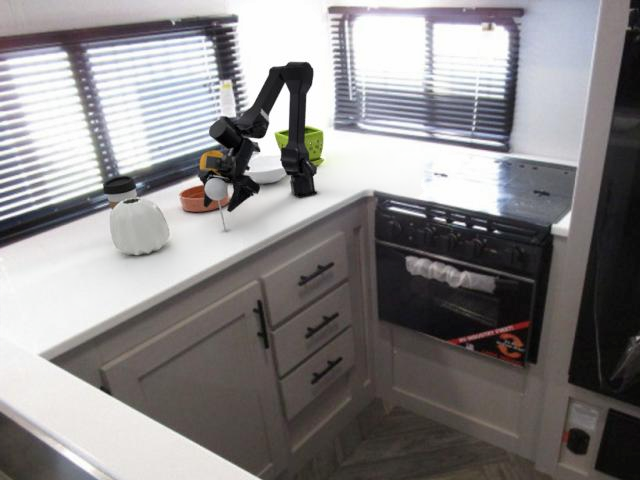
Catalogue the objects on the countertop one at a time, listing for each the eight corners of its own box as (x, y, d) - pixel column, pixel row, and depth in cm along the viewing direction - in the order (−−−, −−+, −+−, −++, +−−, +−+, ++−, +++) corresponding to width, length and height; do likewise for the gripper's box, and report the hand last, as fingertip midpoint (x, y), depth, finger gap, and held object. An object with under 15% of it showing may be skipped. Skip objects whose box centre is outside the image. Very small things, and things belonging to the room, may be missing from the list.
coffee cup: (155, 226, 165) (140, 176, 158) (134, 238, 158) (118, 185, 151) (132, 224, 168) (116, 174, 160) (110, 236, 161) (93, 184, 153)
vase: (118, 264, 143) (101, 214, 136) (117, 245, 154) (102, 197, 148) (175, 252, 148) (162, 203, 141) (170, 234, 159) (157, 188, 152)
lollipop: (230, 235, 156) (218, 182, 148) (210, 235, 157) (198, 182, 150) (240, 227, 161) (229, 175, 154) (221, 226, 162) (209, 174, 155)
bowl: (306, 181, 195) (304, 162, 192) (251, 194, 186) (248, 175, 183) (282, 169, 210) (280, 152, 207) (230, 181, 200) (227, 163, 197)
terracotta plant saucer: (223, 194, 188) (220, 181, 186) (235, 206, 177) (232, 192, 175) (178, 204, 182) (174, 190, 180) (188, 216, 171) (184, 202, 169)
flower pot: (312, 158, 221) (307, 124, 215) (328, 165, 210) (324, 130, 204) (278, 165, 214) (272, 131, 208) (293, 173, 204) (288, 137, 198)
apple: (210, 180, 203) (202, 147, 197) (236, 179, 202) (229, 145, 196) (199, 188, 195) (191, 154, 189) (227, 188, 194) (219, 153, 188)
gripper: (194, 139, 155) (171, 190, 152) (244, 145, 146) (220, 200, 143) (222, 160, 164) (201, 209, 162) (270, 167, 155) (248, 219, 153)
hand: (216, 209), depth 155 cm, fingers open, 9 cm apart
